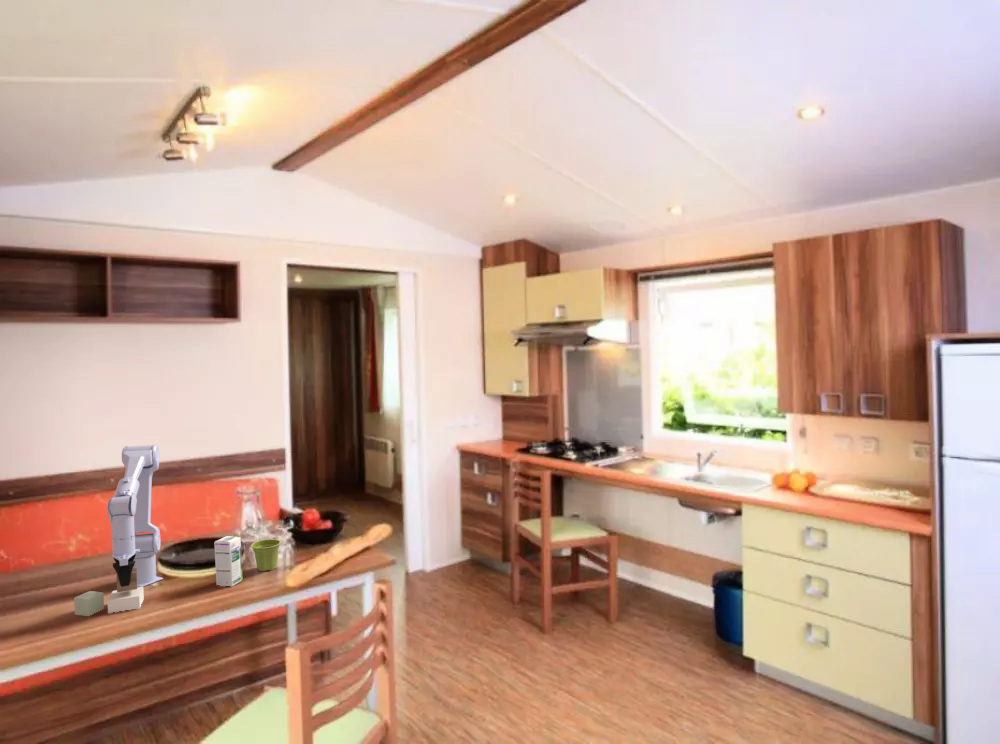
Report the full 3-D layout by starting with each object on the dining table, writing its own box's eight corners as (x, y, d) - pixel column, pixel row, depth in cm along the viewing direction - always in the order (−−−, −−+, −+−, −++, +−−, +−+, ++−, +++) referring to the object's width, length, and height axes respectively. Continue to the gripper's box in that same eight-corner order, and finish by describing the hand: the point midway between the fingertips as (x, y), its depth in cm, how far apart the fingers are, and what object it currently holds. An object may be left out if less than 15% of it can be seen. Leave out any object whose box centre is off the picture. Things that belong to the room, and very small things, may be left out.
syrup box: (232, 587, 202) (230, 541, 202) (215, 586, 204) (213, 540, 203) (243, 580, 208) (241, 536, 207) (226, 579, 209) (225, 535, 209)
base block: (113, 604, 191) (112, 590, 191) (143, 599, 194) (143, 586, 194) (108, 614, 184) (107, 600, 184) (139, 609, 187) (139, 596, 187)
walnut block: (117, 586, 190) (117, 570, 190) (137, 583, 192) (136, 567, 192) (117, 592, 186) (116, 575, 186) (136, 589, 188) (136, 572, 188)
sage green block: (74, 614, 184) (74, 597, 183) (90, 607, 188) (89, 591, 188) (89, 616, 182) (88, 599, 182) (104, 609, 187) (103, 592, 187)
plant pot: (268, 574, 213) (267, 548, 213) (246, 571, 216) (245, 546, 216) (287, 565, 222) (286, 540, 221) (265, 562, 225) (264, 538, 225)
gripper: (139, 541, 184) (141, 587, 184) (139, 528, 196) (141, 572, 197) (110, 545, 180) (112, 592, 181) (112, 532, 193) (114, 576, 194)
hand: (125, 582), depth 189 cm, fingers closed on walnut block, 5 cm apart
